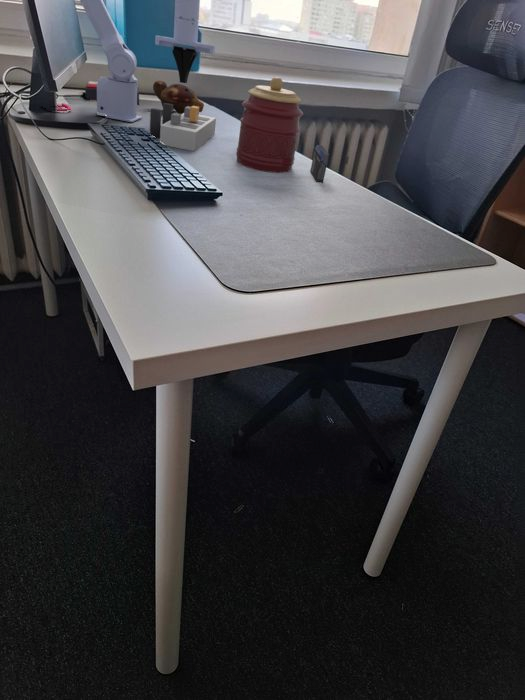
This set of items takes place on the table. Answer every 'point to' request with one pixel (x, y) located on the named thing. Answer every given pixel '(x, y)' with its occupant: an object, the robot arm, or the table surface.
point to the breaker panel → (187, 131)
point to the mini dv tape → (319, 163)
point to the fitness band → (63, 106)
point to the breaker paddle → (194, 113)
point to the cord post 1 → (155, 122)
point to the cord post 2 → (167, 112)
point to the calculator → (92, 91)
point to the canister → (269, 128)
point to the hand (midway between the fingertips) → (183, 82)
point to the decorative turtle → (176, 96)
